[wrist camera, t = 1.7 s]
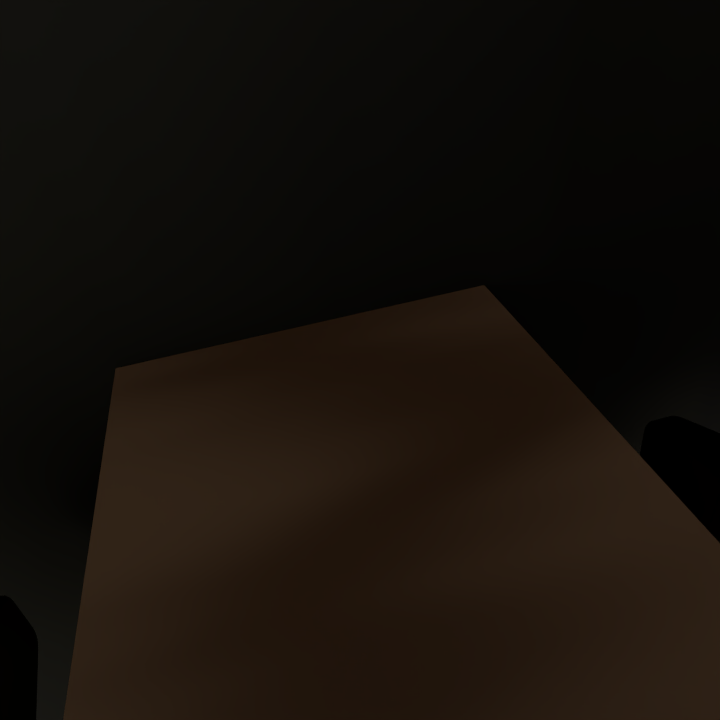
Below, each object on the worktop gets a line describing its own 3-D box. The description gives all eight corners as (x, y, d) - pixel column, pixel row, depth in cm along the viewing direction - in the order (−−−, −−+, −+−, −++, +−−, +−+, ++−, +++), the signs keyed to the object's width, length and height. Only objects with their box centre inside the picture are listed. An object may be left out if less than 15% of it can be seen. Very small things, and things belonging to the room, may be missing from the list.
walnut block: (483, 284, 9) (880, 719, 4) (482, 522, 11) (708, 945, 7) (115, 366, 8) (17, 1029, 3) (212, 598, 11) (242, 1130, 6)
